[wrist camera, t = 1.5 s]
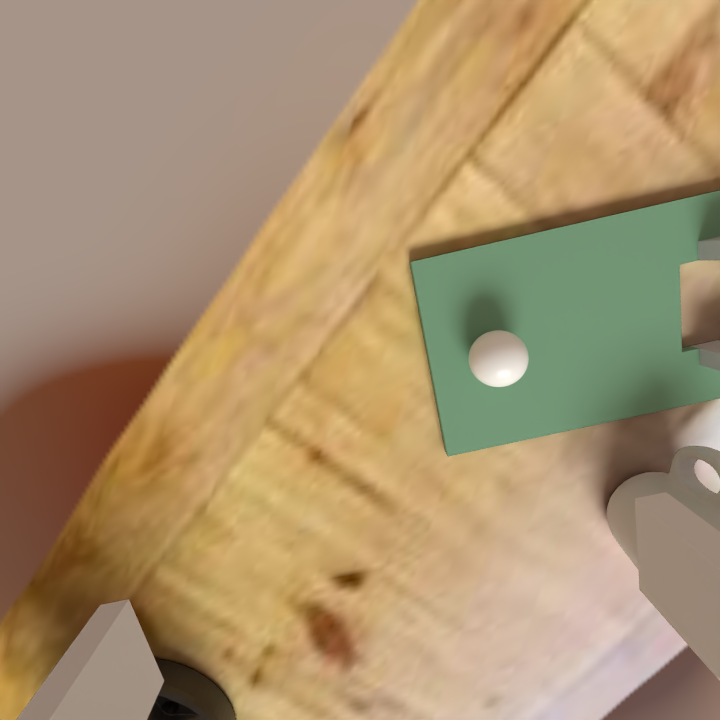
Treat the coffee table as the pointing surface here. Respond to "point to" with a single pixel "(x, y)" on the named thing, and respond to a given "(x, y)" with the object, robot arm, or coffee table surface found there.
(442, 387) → the green mat
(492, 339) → the ball
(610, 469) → the coffee table surface
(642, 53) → the coffee table surface
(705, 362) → the white u-shaped bracket
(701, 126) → the coffee table surface
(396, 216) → the coffee table surface
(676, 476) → the cup
